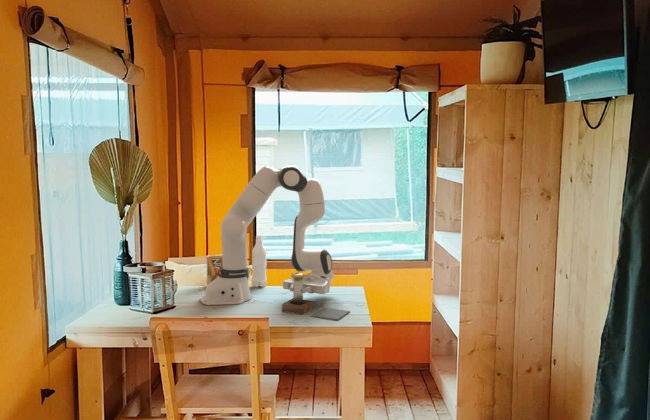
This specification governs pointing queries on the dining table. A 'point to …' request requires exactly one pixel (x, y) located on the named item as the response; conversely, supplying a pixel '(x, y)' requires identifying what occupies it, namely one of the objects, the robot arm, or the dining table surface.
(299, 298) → the steel peg
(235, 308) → the dining table surface
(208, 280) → the candy box
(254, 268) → the water bottle
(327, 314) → the rubber mat
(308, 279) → the robot arm
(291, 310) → the socket block
